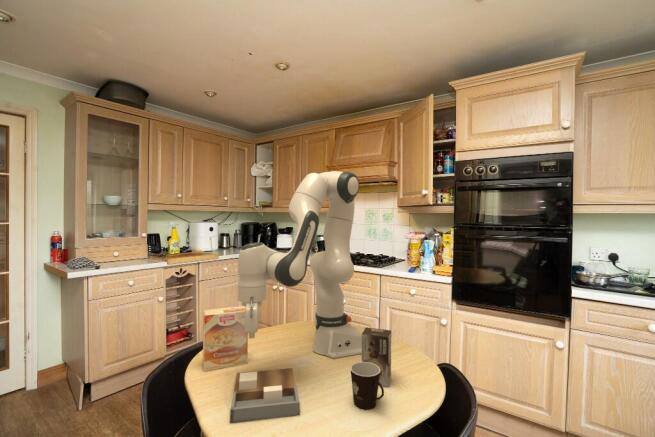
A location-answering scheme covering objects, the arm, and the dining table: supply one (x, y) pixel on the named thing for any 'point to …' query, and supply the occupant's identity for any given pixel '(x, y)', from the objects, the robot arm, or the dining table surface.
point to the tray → (264, 408)
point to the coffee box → (378, 351)
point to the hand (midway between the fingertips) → (251, 336)
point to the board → (267, 384)
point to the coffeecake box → (224, 338)
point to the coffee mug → (365, 384)
